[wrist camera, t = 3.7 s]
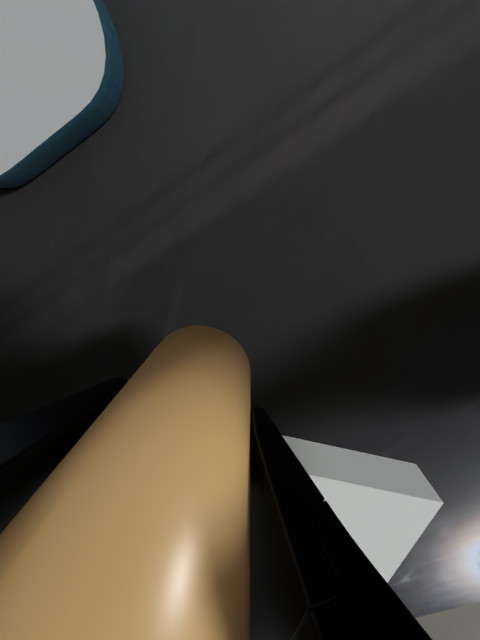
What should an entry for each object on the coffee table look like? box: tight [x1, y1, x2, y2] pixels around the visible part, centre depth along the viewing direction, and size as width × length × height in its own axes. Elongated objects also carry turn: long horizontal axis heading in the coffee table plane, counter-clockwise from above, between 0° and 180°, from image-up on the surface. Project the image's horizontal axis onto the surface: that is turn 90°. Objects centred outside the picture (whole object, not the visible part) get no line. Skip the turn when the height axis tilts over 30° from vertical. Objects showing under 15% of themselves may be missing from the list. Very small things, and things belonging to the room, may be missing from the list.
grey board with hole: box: [282, 435, 443, 583], centre depth 22 cm, size 18×25×3 cm
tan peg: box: [0, 326, 251, 640], centre depth 6 cm, size 4×4×8 cm
